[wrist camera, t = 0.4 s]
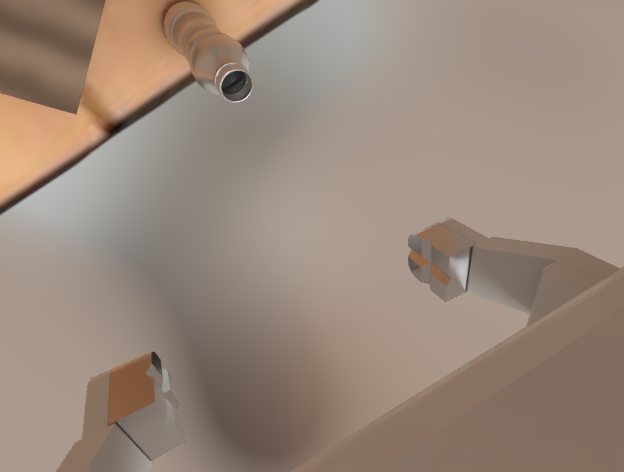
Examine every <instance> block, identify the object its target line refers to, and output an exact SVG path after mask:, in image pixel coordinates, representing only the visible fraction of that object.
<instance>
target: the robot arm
mask: <svg viewBox="0 0 624 472" xmlns="http://www.w3.org/2000/svg"><path fill="white" fill-rule="evenodd" d="M408 246H409V247H410V248H411V249H412V250H411V252H410V254H409V256H408V265H409V267H410V270H411V272H412V273H413V275H414V276H415V277H416V278H417V279H418V280H419V281H421V282H424V283H428V284H430V289H431V290H432V291H433V292H434V293H435V294H436V295H438V296H439V297H440V298H441V299H443V300H444V301H445V302H446V301H448V300H451V299H453V298H454V297H457V296H458V295H460V294H462V293H465V292H467V293H469V294H472V295H475V296H478V297H481V298H484V299H487V300H490V301H494V302H497V303H499V304H503V305H506V306H508V307H511V308H515V309H517V310H520V311H524V312H527V313H530V315H529V319H528V323H527V327H525V328H523V329H522V330H520V331H519V332H517V333H515V334H514V335H512V336H510V337H509V338H507V339H506V340H504V341H502V342H501V343H499V344H497V345H496V346H494V347H492V348H491V349H490V350H488V351H486V352H484V353H483V354H481V355H479V356H478V357H476V358H475V359H473V360H471V361H470V362H468V363H467V364H465V365H463V366H462V367H460V368H458V369H457V370H455V371H453V372H452V373H450V374H449V375H447V376H445V377H444V378H442V379H441V380H439V381H437V382H435V383H434V384H432V385H431V386H429V387H427V388H426V389H424V390H422V391H421V392H419V393H418V394H416V395H415V396H413V397H411V398H410V399H408V400H406V401H405V402H403V403H402V404H400V405H398V406H397V407H395V408H393V409H392V410H390V411H388V412H387V413H385V414H384V415H382V416H380V417H379V418H377V419H376V420H374V421H372V422H371V423H369V424H367V425H366V426H364V427H363V428H361V429H359V430H358V431H356V432H354V433H353V434H351V435H349V436H348V437H346V438H345V439H343V440H341V441H340V442H338V443H336V444H335V445H333V446H332V447H330V448H328V449H327V450H325V451H323V452H322V453H320V454H319V455H317V456H315V457H314V458H312V459H310V460H309V461H307V462H306V463H304V464H302V465H301V466H299V467H298V468H296V469H294V470H293V471H291V472H624V267H623V268H621V269H620V268H618V267H616V266H614V265H612V264H609V263H607V262H605V261H603V260H601V259H599V258H596V257H594V256H592V255H590V254H588V253H586V252H584V251H581V250H579V249H577V248H571V247H564V246H556V245H549V244H541V243H534V242H527V241H520V240H512V239H504V238H497V237H491V238H487V237H485V236H483V235H482V234H480V233H478V232H476V231H474V230H472V229H471V228H469V227H467V226H465V225H463V224H461V223H460V222H458V221H456V220H454V219H452V218H446V219H444V220H442V221H439V222H437V223H435V224H434V225H431V226H429V227H427V228H425V229H423V230H421V231H418V232H416V233H414V234H412V235H410V237H409V239H408ZM178 406H179V398H178V392H177V389H176V386H175V383H174V381H173V379H172V377H171V375H170V373H169V372H168V370H164V369H162V366H161V360H160V358H159V357H158V355H157V354H156V353H155V352H150V353H148V354H145V355H143V356H141V357H139V358H136V359H134V360H131V361H129V362H127V363H124V364H122V365H120V366H117V367H115V368H113V369H112V370H109V371H107V372H104V373H102V374H99V375H97V376H95V377H93V378H91V379H90V381H89V382H88V386H87V395H86V405H85V414H84V424H83V434H82V439H81V440H79V441H77V442H76V443H74V445H73V447H72V448H71V450H70V451H69V453H68V454H67V456H66V457H65V459H64V460H63V462H62V463H61V465H60V467H59V468H58V470H57V471H56V472H149V470H150V467H151V464H152V462H151V461H152V460H154V459H156V458H157V457H159V456H161V455H163V454H164V453H166V452H168V451H170V450H172V449H173V448H175V447H176V446H178V445H180V444H182V443H184V442H185V436H184V429H183V423H182V418H181V416H180V415H179V413H178V412H177V408H178Z"/></svg>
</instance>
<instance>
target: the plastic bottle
mask: <svg viewBox="0 0 624 472" xmlns="http://www.w3.org/2000/svg"><path fill="white" fill-rule="evenodd" d="M164 30H165V34H166V38H167V40H168V42H169V43H170V45H171V46H172V47H173V48H174V49H175V50H176V51H177V52H178V53H180V54H181V55H183V56H184V57H186V59H187V61H188V62H189V65H190V68H191V70H192V73H193V75H194V77H195V79H196V81H197V82H198V84H199V85H200V86H201V87H202V88H204V89H205V90H207V91H209V92H211V93H214V94H218V95H222V96H223V98H225V99H226V100H227V101H229V102H233V103H237V102H241V101H244V100H245V99H247V98H248V96H249V95H250V94H251V92H252V89H253V80H252V78H251V76H250V74H249V61H248V57H247V54H246V52H245V50H244V48H243V47H242V46H241V44H240V43H238V42H237V41H236V40H235V39H233V38H232V37H230V36H228V35H226V34H224V33H222V32H221V31H220V30H219V29H218V28H217V27H216V24H215V22H214V20H213V18H212V17H211V15H210V14H209V12H208V11H207V10H206V9H205V8H203V7H202V6H200V5H198V4H195V3H192V2H187V1H184V2H179V3H176V4H174V5H173V6H172V7H171V8H170V9H169V10H168V11H167V13H166V15H165V18H164Z"/></svg>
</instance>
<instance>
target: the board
mask: <svg viewBox="0 0 624 472" xmlns="http://www.w3.org/2000/svg"><path fill="white" fill-rule="evenodd" d="M104 3H105V0H0V93H2V94H6V95H9V96H13V97H16V98H20V99H23V100H27V101H30V102H34V103H37V104H41V105H45V106H48V107H52V108H55V109H59V110H62V111H66V112H69V113H73V114H77V110H78V106H79V102H80V98H81V94H82V90H83V86H84V83H85V79H86V75H87V71H88V67H89V63H90V59H91V55H92V51H93V47H94V43H95V39H96V35H97V31H98V27H99V23H100V19H101V15H102V11H103V7H104Z"/></svg>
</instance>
